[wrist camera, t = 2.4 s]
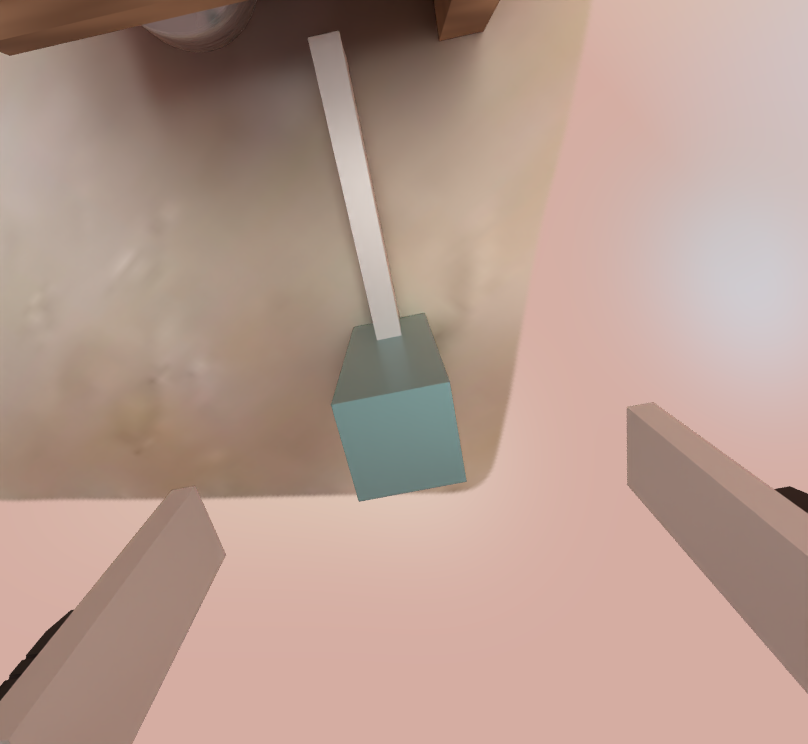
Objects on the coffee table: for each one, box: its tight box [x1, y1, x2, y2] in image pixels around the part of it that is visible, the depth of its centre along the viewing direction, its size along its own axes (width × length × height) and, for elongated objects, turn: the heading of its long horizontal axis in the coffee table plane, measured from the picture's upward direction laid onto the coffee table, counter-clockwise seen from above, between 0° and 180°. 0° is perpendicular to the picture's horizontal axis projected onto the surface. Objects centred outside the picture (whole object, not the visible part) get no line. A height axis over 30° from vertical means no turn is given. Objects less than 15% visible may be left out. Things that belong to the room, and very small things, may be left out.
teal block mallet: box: [308, 31, 467, 501], centre depth 17 cm, size 4×16×10 cm, turn 11°
